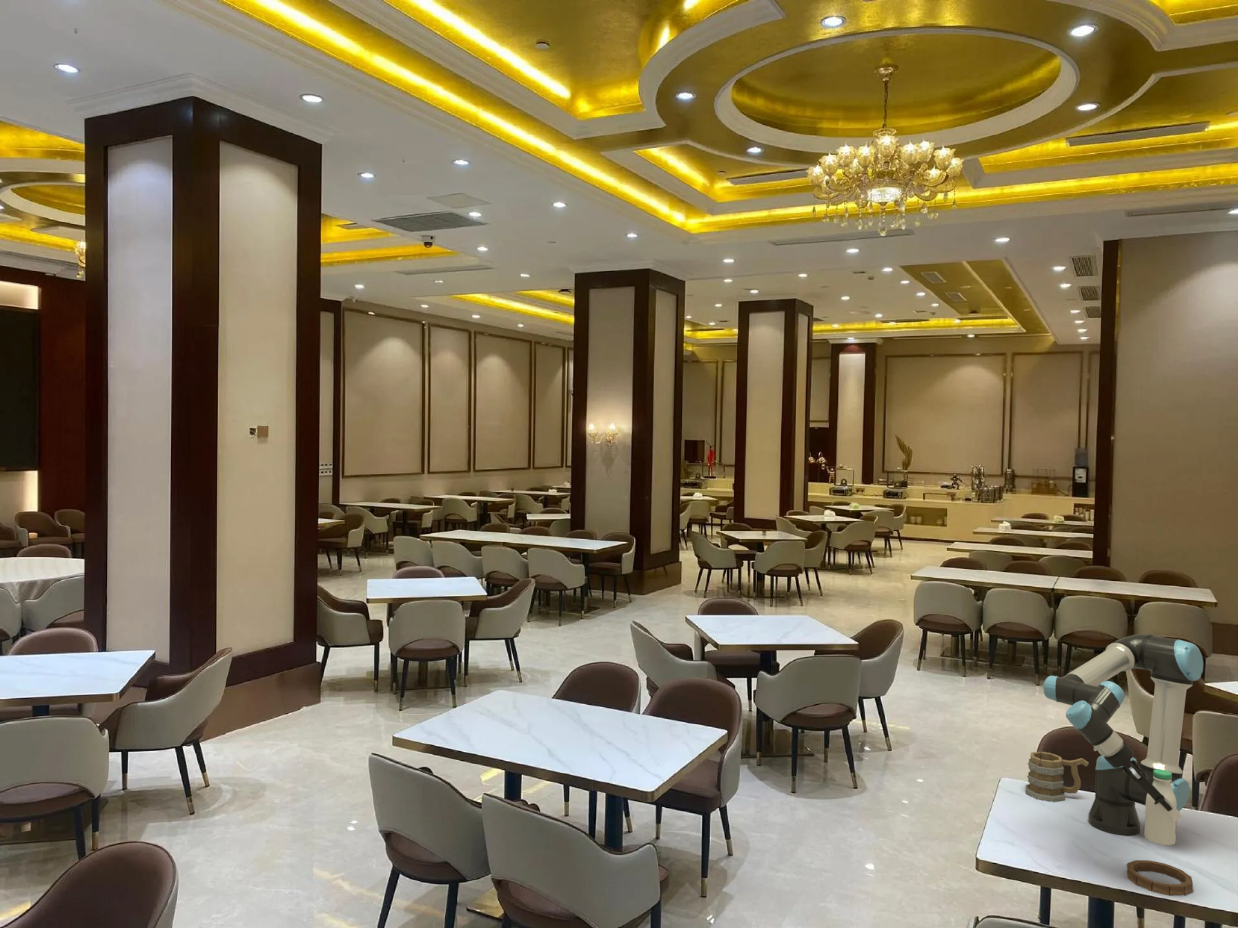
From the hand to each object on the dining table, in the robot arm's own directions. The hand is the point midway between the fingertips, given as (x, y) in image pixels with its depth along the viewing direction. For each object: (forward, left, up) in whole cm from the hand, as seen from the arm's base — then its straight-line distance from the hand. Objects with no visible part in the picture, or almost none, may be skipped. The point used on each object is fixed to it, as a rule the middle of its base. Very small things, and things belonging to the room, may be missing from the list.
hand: (1174, 812), depth 256 cm
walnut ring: (0, -3, -21) cm, 21 cm away
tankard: (-56, -32, -21) cm, 68 cm away
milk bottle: (+1, -3, -9) cm, 9 cm away
